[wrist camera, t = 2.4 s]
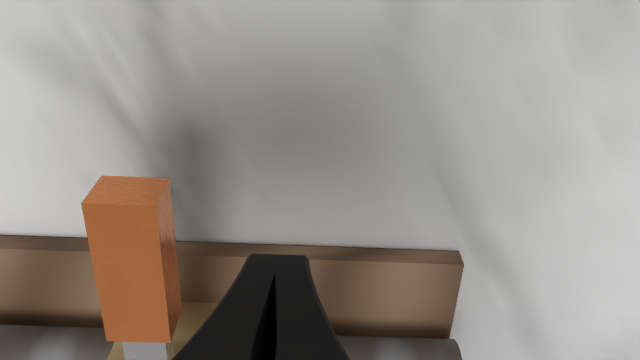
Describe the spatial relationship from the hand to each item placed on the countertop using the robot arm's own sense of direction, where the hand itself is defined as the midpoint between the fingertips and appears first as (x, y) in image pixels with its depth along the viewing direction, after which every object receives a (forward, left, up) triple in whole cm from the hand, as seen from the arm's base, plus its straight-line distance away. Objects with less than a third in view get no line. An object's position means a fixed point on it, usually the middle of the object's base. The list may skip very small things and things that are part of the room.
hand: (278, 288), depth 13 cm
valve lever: (+5, +6, -4) cm, 9 cm away
